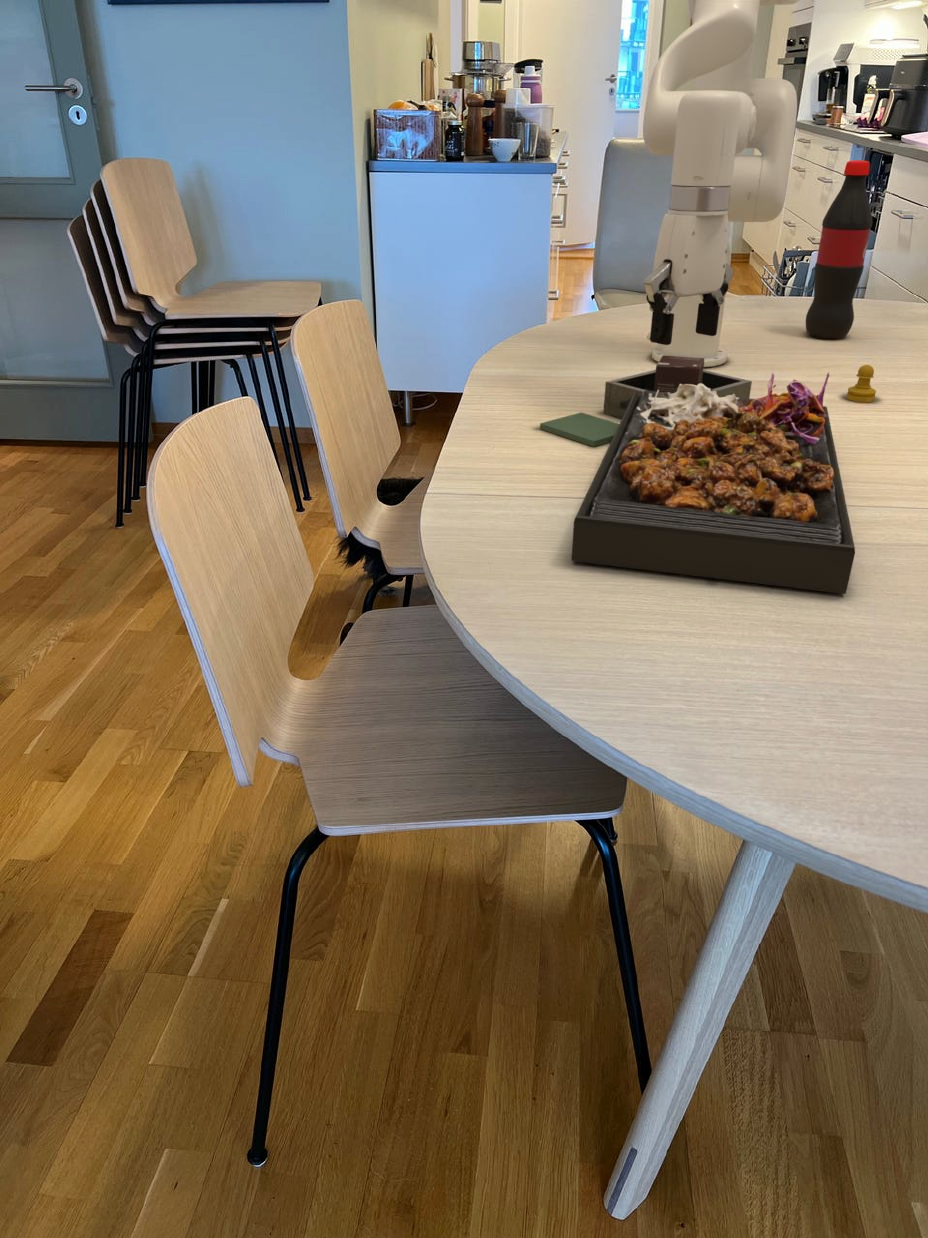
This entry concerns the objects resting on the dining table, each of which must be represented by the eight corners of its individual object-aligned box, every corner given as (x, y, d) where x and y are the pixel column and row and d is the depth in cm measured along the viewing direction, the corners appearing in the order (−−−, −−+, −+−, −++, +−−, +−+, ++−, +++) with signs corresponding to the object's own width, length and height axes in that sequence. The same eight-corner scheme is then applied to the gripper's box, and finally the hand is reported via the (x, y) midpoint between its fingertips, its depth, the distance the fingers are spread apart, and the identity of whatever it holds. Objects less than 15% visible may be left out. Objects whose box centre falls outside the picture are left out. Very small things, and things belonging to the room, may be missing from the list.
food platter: (630, 424, 125) (637, 347, 120) (821, 440, 119) (836, 359, 114) (571, 560, 87) (577, 456, 82) (845, 593, 81) (870, 483, 76)
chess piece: (876, 402, 135) (884, 368, 133) (848, 401, 136) (855, 367, 134) (871, 395, 139) (879, 362, 136) (844, 394, 139) (851, 361, 137)
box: (699, 409, 133) (705, 357, 129) (694, 420, 128) (701, 367, 124) (657, 405, 134) (662, 354, 131) (650, 416, 129) (655, 364, 126)
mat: (539, 428, 125) (540, 423, 124) (581, 417, 129) (581, 412, 129) (593, 447, 118) (594, 441, 118) (635, 434, 122) (635, 428, 122)
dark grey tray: (603, 413, 131) (605, 381, 129) (675, 393, 140) (678, 363, 138) (675, 434, 122) (679, 401, 120) (747, 412, 131) (752, 381, 129)
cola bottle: (851, 333, 177) (886, 159, 162) (848, 342, 170) (883, 161, 155) (805, 329, 180) (835, 158, 165) (800, 338, 173) (830, 160, 159)
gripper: (716, 197, 125) (700, 327, 133) (631, 202, 115) (620, 342, 123) (763, 200, 120) (744, 335, 128) (679, 206, 110) (663, 351, 118)
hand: (683, 338), depth 126 cm, fingers open, 9 cm apart
